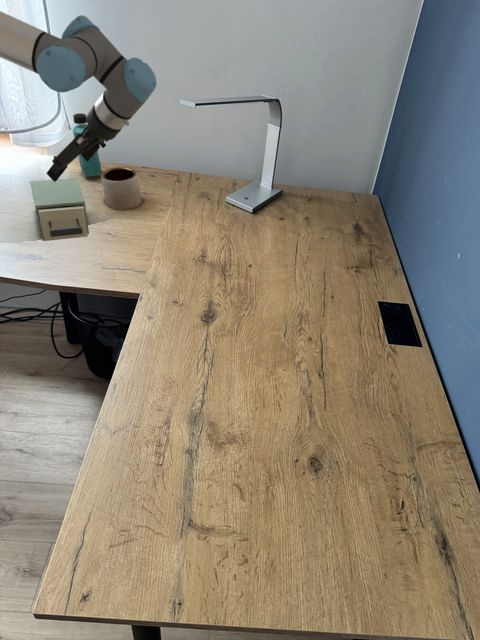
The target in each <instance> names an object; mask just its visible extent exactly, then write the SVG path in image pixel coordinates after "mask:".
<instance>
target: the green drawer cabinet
mask: <svg viewBox="0 0 480 640" xmlns="http://www.w3.org/2000/svg"><path fill="white" fill-rule="evenodd" d="M29 183H30V189H31V194H32V199H33V203H34V208H35V213H36V218H37V222H38V229H39V233H40V238H41V241H42V242H46V241H45V240H44V236H43V231H42V226H41V221H40V216H39V212H38V210H41V208H48V207H60V206H72V205H80V206H83V207H84V213H85V220H86V227H87V234H88V235H89V234H90V230H89V223H88V216H87V208H86V201H85V198H84V195H83V192H82V190H81V186H80V183H79V181H78V178H77V177H74V178H58V180H57V181H56V182H54V181H53V180H52V179H44V180H30V181H29Z"/></svg>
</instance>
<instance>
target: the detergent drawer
mask: <svg viewBox="0 0 480 640" xmlns="http://www.w3.org/2000/svg"><path fill="white" fill-rule="evenodd" d="M38 212H39V216H40V221H41V226H42V231H43V236H44V240H45V241H44V242H49V241H58V240H67V239H78V238H87V237H89V236H88V235H89V234H87V227H86V220H85V213H84V207H83V206H80V205H72V206H60V207H48V208H41V210H38Z"/></svg>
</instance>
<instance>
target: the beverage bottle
mask: <svg viewBox="0 0 480 640" xmlns="http://www.w3.org/2000/svg"><path fill="white" fill-rule="evenodd" d="M72 118H73V123H74V124H76V125H75V126H74V127H73V128H72V133H73V139H74V138H75V137H76V136H77V134H79V133H80V134H81V133H82V132H83V130H84V129H85V128H86V127H87V126H88V124H87V114H85V113H80V112H79V113H75V114H73V116H72ZM86 145H87V144H86ZM77 158H78V159H79V160H78V161H79V165H80V170H81V172H82V175H84V176H86V177H97V176H99V175H101V174H102V166H101V165H102V164H101V160H100V156H99V149H98V150H97V152H96V153H95V154H94V155H93V156H92V158H91V159H90V160H89V161H88V162H87V161H86V160H85V159H84V158H83V157H82V155H81V154H80V155H79V156H77Z"/></svg>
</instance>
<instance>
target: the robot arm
mask: <svg viewBox="0 0 480 640" xmlns="http://www.w3.org/2000/svg"><path fill="white" fill-rule="evenodd" d="M0 58H1V59H3V60H5V61H8V62H10V63H13V64H14V65H17V66H19V67H21V68H23V69H26V70H28V71H30V72H33V73H35V74H37V75H38V76H39V79H41V81H42V82H43V83H44V85H46V86H47V87H48V88H49V89H50V90H52V91H54V92H57V93H68V92H70V91H73V90H75V89H77V88H80V87H81V86H82V84H83V83H85V82H86V81H89V79H91V78H92V77H94V78H95V80H96V81H97V82H98V83H99V84H101V86H103V87H104V88H105V90H104V91H103V93H102V94H101V95H100V96H99V98H98V99H97V100H96V101H95V103H94V105H93V106H92V108H90V109H89V111H88V112H87V114H86V117H87V123H86V124H87V125H88V126H87V127H86V128H85V129H84V130H83V132H82V133H81V134H80V133H79V134H77V136H76V137H75V138H74V137H73V139H72V141H71V142H69V143H68V144H67V145H66V146H65V148H63V149H62V150H61V151H60V152H59V153H58V154H57V155H54V156H53V157H52V158H53V159H52V161H51V162H52V163H53V164H52V165H51V166H50V168H49V169H48V170H47V172H46V175H47V176H48V177H49V178H50V180H53V181H54V182H56V181H57V180H58V179H60V178H61V176H62V175H63V174H64V172H65V171H66V170H67V169H68V167H69V165H70V164H71V163H72V162H73V161H74V160H76V158H78V156H79V155H80V154H81V155H82V157H83V158H84V159H85V160H86V161H87V162H88V161H89V160H90V159H91V158H92V156H93V155H94V154H95V153H96V152H97V150H98V151H99V149H100V148H102V149H104V148H105V147H106V146H107V144H106V143H107V142H109V141H111V140H114V139H115V138H116V137H117V135H119V133H120V132H121V131H122V129H123V128H124V127H125V126H126V127H129V126H130V122H129V121H130V120H131V119H132V117H134V116H135V115H136V113H137V112H138V111H139V110H140V109H141V108H142V107H143V105H145V103H146V102H147V101H148V100H149V98H150V96H151V95H152V94H153V92H154V91H155V90H156V88H157V77H156V74H155V72H154V70H153V69H152V67H151V66H150V65H149V64H148V63H147V62H144V61H143V59H140V58H139V57H131V58H129V59H127V58H126V57H125V56H124V55H123V54H122V53H121V52H120V51H119V50H118V48H117V47H116V46H115V45H114V44H113V43H112V42H111V41H110V39H108V37H106V35H105V34H104V33H103V32H102V31H101V29H100V28H99V27H98V26H97V25H95V24H94V23H93V21H91V20H90V19H89V18H88V17H87V16H86V15H82V14H80V15H78V16H76V17H75V18H74V19H72V20H71V21H70V23H69V24H68V25H67V26H66V28H65V29H64V30H63V32H62V34H61V37H58V36H56V35H53V34H51V33H49V32H47V31H46V30H42V29H40V28H39V27H36V26H34V25H32V24H29V23H28V22H25V21H23V20H21V19H19V18H16V17H14V16H13V15H10V14H8V13H5V12H3V11H1V10H0ZM86 144H87V145H86Z"/></svg>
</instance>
